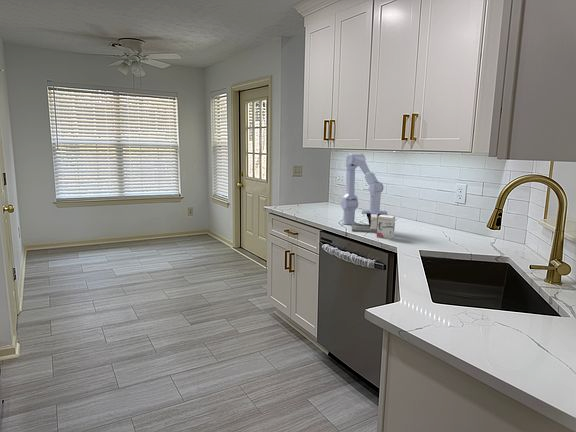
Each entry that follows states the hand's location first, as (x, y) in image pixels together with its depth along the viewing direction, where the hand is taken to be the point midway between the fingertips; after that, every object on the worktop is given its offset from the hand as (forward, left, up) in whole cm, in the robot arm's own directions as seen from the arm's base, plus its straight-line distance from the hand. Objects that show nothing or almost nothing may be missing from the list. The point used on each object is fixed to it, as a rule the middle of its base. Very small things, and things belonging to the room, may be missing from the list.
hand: (373, 226), depth 236 cm
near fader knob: (0, 0, -1) cm, 1 cm away
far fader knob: (-9, +1, -1) cm, 9 cm away
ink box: (+14, +6, -3) cm, 16 cm away
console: (-4, -3, -3) cm, 6 cm away
